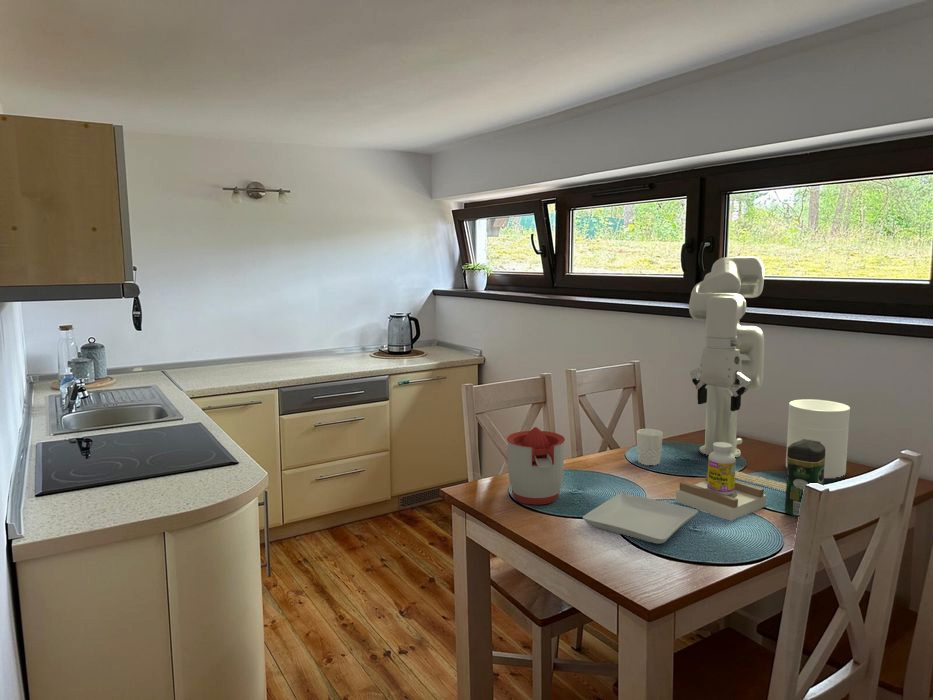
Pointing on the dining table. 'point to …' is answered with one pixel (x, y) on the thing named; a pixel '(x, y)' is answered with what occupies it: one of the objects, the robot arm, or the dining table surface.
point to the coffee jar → (802, 471)
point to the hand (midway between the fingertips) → (718, 406)
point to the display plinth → (722, 499)
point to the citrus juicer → (535, 465)
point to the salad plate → (640, 517)
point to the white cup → (649, 446)
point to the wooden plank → (760, 480)
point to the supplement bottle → (721, 469)
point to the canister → (821, 430)
